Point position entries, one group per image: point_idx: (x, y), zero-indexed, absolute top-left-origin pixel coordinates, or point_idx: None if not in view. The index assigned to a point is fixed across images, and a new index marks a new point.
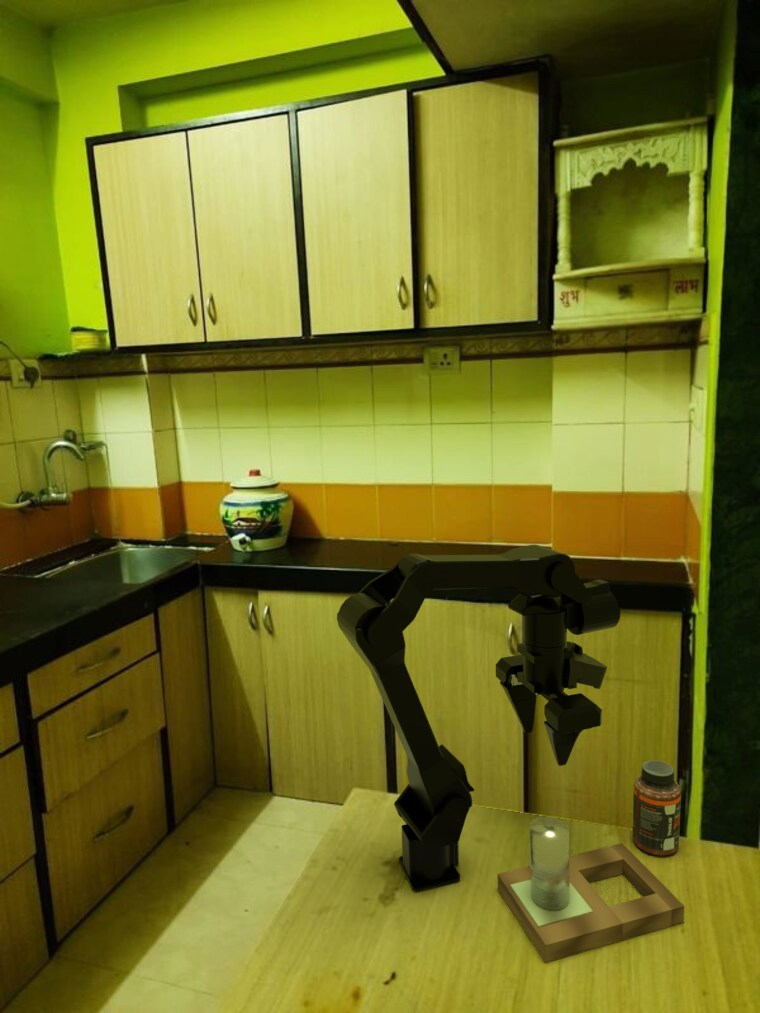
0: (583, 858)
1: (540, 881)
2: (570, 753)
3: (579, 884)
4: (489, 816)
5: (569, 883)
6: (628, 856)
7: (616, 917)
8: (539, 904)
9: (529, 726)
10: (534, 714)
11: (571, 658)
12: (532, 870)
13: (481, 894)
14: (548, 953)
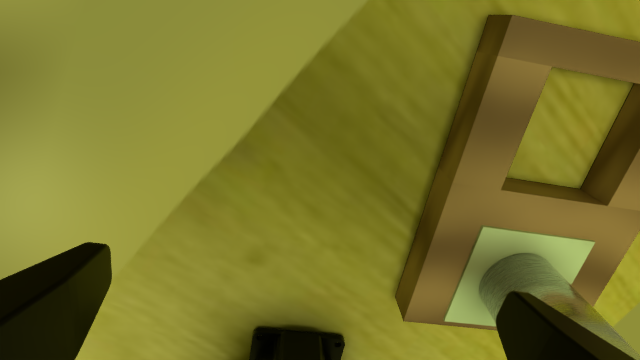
0: (482, 153)
1: None
2: (610, 344)
3: (529, 214)
4: (187, 199)
5: (572, 286)
6: (557, 45)
7: (633, 212)
8: None
9: (87, 293)
10: (7, 324)
11: None
12: None
13: (388, 321)
14: None
